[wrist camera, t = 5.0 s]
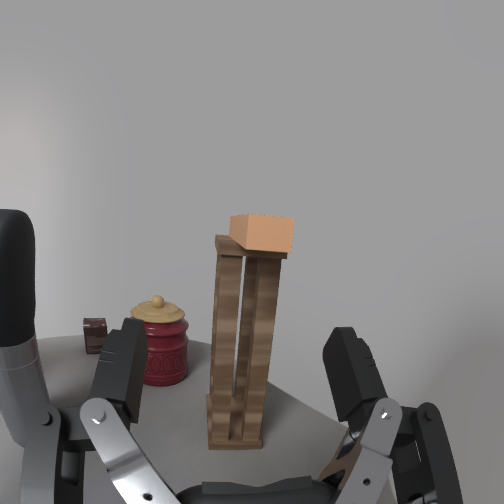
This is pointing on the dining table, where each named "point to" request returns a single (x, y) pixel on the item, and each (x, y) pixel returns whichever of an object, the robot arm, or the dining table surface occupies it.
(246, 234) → the terracotta bar
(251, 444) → the walnut shelf stand
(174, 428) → the dining table surface
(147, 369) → the canister
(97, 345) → the box
